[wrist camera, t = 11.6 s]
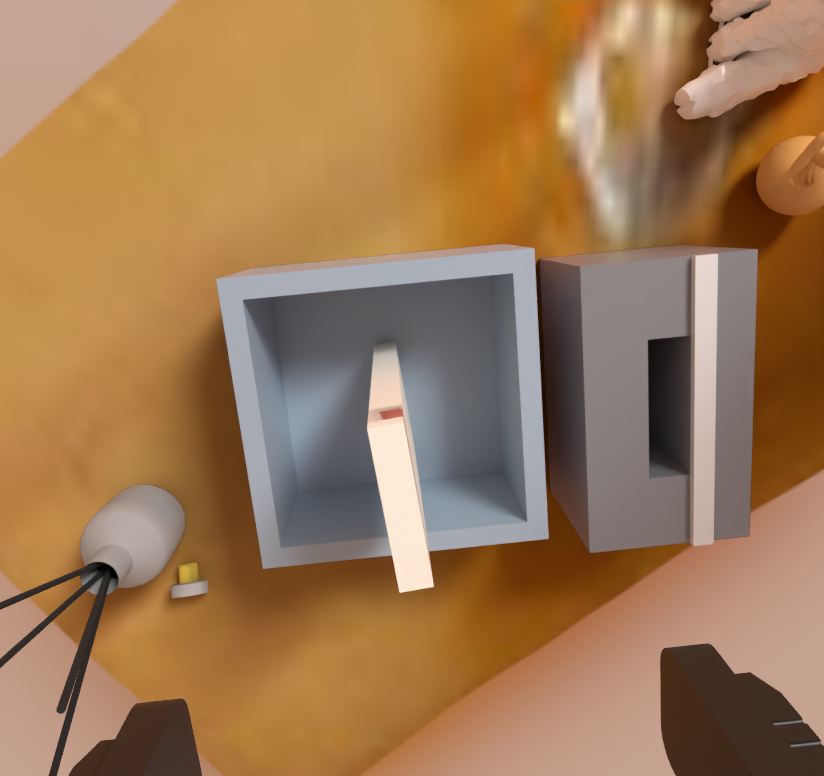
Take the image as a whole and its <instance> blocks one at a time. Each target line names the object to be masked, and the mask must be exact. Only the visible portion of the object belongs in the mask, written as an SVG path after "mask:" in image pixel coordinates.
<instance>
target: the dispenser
mask: <svg viewBox="0 0 824 776" xmlns="http://www.w3.org/2000/svg"><path fill="white" fill-rule="evenodd" d="M539 261H540V282H541V303H542V324H543V345H544V366H545V387H546V408H547V430H548V451H549V472H550V491H551V493H552V494H553V496H554V497H555V499H556V501H557V502H558V504H559V505H560V507H561V508H562V510H563V512H564V513H565V515H566V516H567V518H568V519H569V521H570V523H571V524H572V526H573V527H574V529H575V531H576V532H577V534H578V535H579V537H580V538H581V540H582V542H583V543H584V545H585V546H586V548H587V550H588V551H589V553H596V552H605V551H615V550H624V549H634V548H643V547H652V546H662V545H671V544H681V543H691V544H692V545H693V546H701V545H711V544H714V540H719V539H728V538H738V537H746V536H750V503H751V469H752V435H753V401H754V366H755V332H756V298H757V264H758V249H746V248H728V247H711V246H693V245H673V246H663V247H653V248H642V249H632V250H622V251H612V252H601V253H591V254H581V255H571V256H561V257H550V258H540V259H539Z"/></svg>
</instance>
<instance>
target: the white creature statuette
mask: <svg viewBox="0 0 824 776" xmlns="http://www.w3.org/2000/svg"><path fill="white" fill-rule="evenodd" d="M710 4H711V6H712V7H713V11H712V13H711V14H710V18H711V19H713V21H716V22H719V28H718V31H717V32H715V33H714V34H713V35H712V36H711V37H710V38H709V40H708V42H712V45H711V46H710V47H708V48H707V49H706V52H707V56H708V58H709V61H708V69H706V70H704V71H703V72H702V73H701V74H700V76H699V77H698V78H696V79H694V80H692V81H690V82H688V83H687V84H685V85H684V86H683V87H682V88H680V89H679V90H678V91H677V92H676V94H675V99H674V104H675V105H678V106H680V107H679V108H678V109H677V113H678V114H679V115H680V116H681V117H683V118H684V119H698V118H701V117H704V116H707V115H708V116H709V117H711V118H712V117H717V116H719V115H721V114H723V113H724V112H726V111H729V110H731V109H732V108H734V107H735V106H736V105H737V104H739V103H741V102H743V101H746V100H752V99H755V98H756V97H757V96H759V95H760V94H762V93H764V92H766V91H773V90H775V89H776V88H777V87H778V86H779V85H780V84H783V85H784V84H787V83H789V82H796V81H797V80H799V79H802V78H805V77H807V75H808V74H809V73H819V71H820V69H821V68H822V67H824V0H712V2H711V3H710ZM751 11H754V13H752V14H751V15H750V17H749V18H748V19H743V18H741V17H740V16H741V15H744V14H746V13H749V12H751ZM725 21H727V22H729V21H733V22H729V23H727V24H726V25H725V26H724V22H725ZM736 57H737V58H736ZM735 58H736V60H735V61H732V60H734V59H735ZM713 62H721V64H719V65H713ZM722 62H723V63H722Z"/></svg>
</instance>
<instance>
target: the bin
mask: <svg viewBox="0 0 824 776" xmlns="http://www.w3.org/2000/svg"><path fill="white" fill-rule="evenodd" d="M216 282H217V288H218V294H219V300H220V306H221V312H222V319H223V325H224V331H225V337H226V343H227V349H228V356H229V362H230V368H231V374H232V380H233V386H234V393H235V399H236V405H237V411H238V417H239V423H240V429H241V436H242V442H243V448H244V454H245V460H246V466H247V473H248V479H249V485H250V491H251V497H252V503H253V510H254V516H255V522H256V528H257V534H258V540H259V547H260V553H261V559H262V565H263V569H267V568H277V567H286V566H296V565H305V564H315V563H324V562H334V561H343V560H353V559H362V558H372V557H381V556H391V555H392V552H391V547H390V542H389V537H388V532H387V527H386V522H385V517H384V512H383V507H382V502H381V497H380V492H379V487H378V482H377V477H376V472H375V466H374V461H373V456H372V451H371V446H370V441H369V436H368V431H367V424H368V412H369V400H370V389H371V377H372V365H373V353H374V345H375V344H380V343H386V342H391V341H396V346H397V352H398V357H399V363H400V369H401V374H402V380H403V385H404V391H405V396H406V402H407V407H408V413H409V418H410V424H411V429H412V435H413V440H414V447H415V454H416V461H417V469H418V476H419V483H420V490H421V497H422V505H423V512H424V519H425V526H426V534H427V541H428V548H429V551H438V550H448V549H457V548H467V547H476V546H486V545H495V544H505V543H514V542H524V541H533V540H543V539H549V535H548V514H547V494H546V474H545V453H544V433H543V412H542V392H541V372H540V351H539V331H538V310H537V290H536V270H535V249H534V248H530V247H523V246H515V245H508V244H496V245H486V246H476V247H466V248H455V249H445V250H435V251H424V252H414V253H404V254H394V255H383V256H373V257H363V258H353V259H342V260H332V261H322V262H312V263H301V264H291V265H281V266H270V267H260V268H251V269H248V270H245V271H241V272H238V273H235V274H231V275H228V276H225V277H222V278H218V279H216Z"/></svg>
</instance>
